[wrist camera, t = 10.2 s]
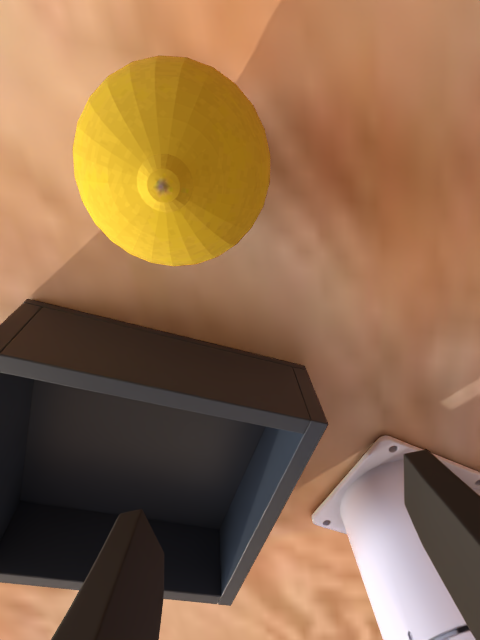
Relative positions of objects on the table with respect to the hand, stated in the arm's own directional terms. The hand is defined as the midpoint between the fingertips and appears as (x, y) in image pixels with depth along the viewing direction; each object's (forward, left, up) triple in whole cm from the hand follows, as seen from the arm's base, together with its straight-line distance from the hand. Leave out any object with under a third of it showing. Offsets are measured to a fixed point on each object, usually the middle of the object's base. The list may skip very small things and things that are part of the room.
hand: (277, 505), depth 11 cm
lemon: (+6, -6, -10) cm, 13 cm away
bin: (+2, +8, -9) cm, 13 cm away
